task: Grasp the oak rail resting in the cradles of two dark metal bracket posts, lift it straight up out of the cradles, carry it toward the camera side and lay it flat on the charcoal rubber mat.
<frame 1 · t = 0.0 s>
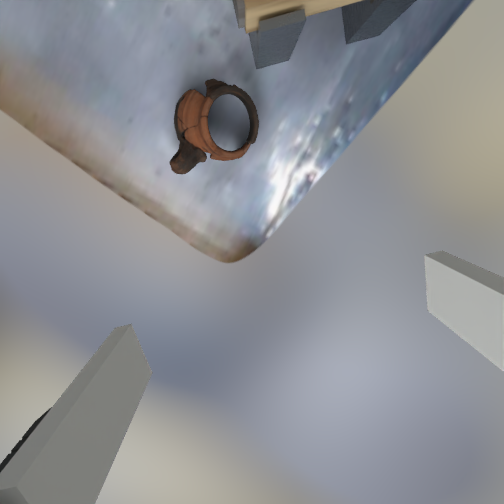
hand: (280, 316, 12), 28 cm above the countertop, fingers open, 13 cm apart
standard b: (359, 6, 32), on the countertop
standard a: (266, 33, 33), on the countertop
pottery mug: (209, 134, 36), on the countertop
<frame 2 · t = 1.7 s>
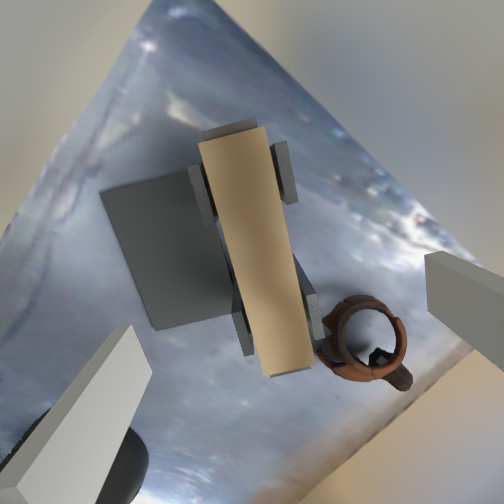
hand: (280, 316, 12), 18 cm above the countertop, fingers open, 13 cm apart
standard b: (243, 178, 28), on the countertop
oak rail: (260, 249, 23), point 7 cm above the countertop, touching standard a, standard b
mat: (176, 254, 30), on the countertop
standard a: (267, 277, 31), on the countertop
pottery mug: (352, 331, 34), on the countertop
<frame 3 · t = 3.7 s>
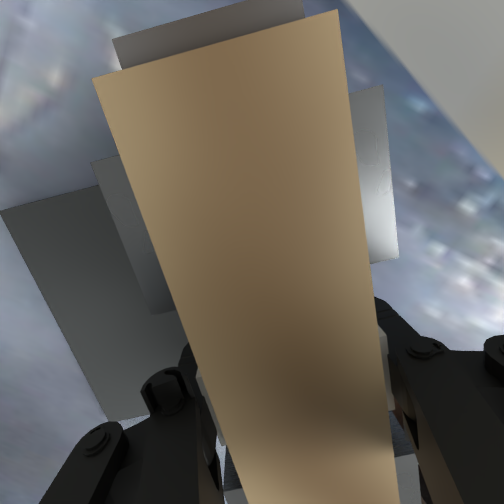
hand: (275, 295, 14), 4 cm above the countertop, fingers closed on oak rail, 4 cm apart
standard b: (248, 184, 16), on the countertop
oak rail: (284, 333, 11), point 7 cm above the countertop, touching gripper, standard a, standard b
mat: (138, 308, 18), on the countertop
standard a: (287, 341, 20), on the countertop
pottery mug: (407, 420, 22), on the countertop
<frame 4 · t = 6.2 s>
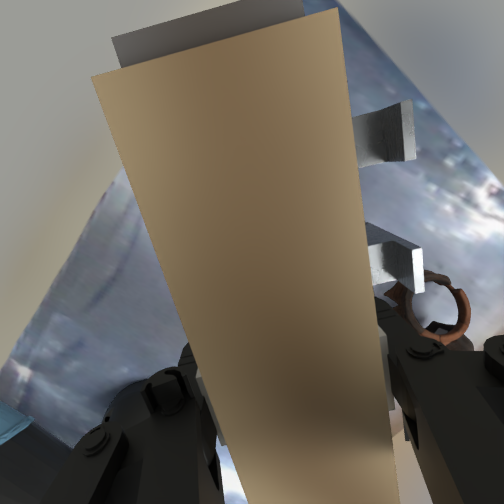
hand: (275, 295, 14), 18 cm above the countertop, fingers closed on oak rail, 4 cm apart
standard b: (328, 148, 30), on the countertop
oak rail: (284, 333, 11), point 22 cm above the countertop, touching gripper
standard a: (343, 245, 33), on the countertop
pottery mug: (408, 306, 36), on the countertop
when the fingers open (1 cm above the countertop, at t = 9.1 s): oak rail drops 3 cm, point 2 cm above the countertop.
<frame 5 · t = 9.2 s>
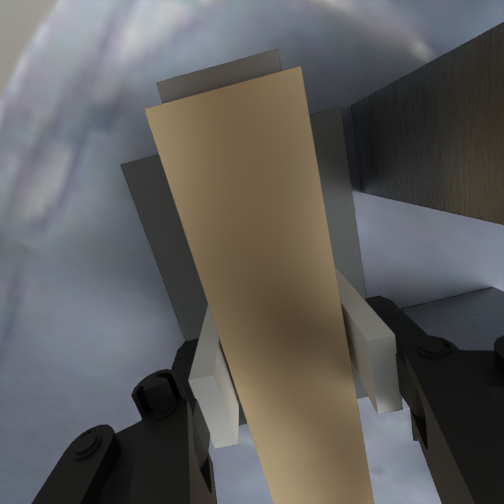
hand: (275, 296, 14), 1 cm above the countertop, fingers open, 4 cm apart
standard b: (426, 133, 13), on the countertop
oak rail: (275, 302, 14), point 2 cm above the countertop
mat: (268, 291, 15), on the countertop
standard a: (437, 330, 16), on the countertop
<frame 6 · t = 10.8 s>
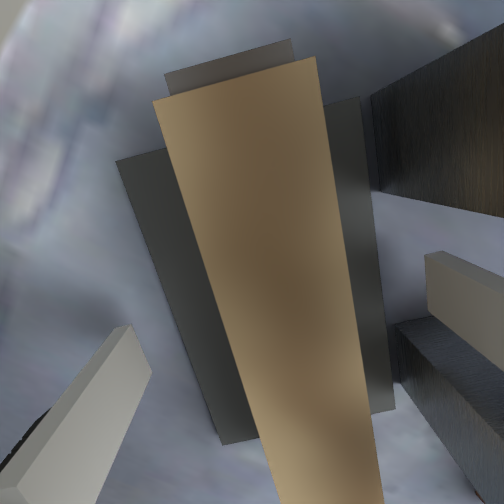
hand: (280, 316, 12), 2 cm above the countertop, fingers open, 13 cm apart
standard b: (453, 126, 12), on the countertop
oak rail: (282, 302, 13), point 1 cm above the countertop, touching mat
mat: (276, 299, 14), on the countertop
standard a: (458, 342, 15), on the countertop
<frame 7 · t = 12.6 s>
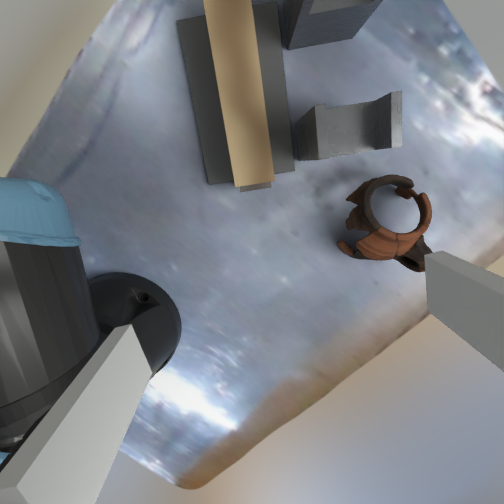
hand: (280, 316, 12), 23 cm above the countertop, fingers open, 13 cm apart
standard b: (318, 21, 28), on the countertop
oak rail: (242, 99, 30), point 1 cm above the countertop, touching mat
mat: (240, 102, 30), on the countertop
standard a: (326, 137, 31), on the countertop
pottery mug: (374, 224, 35), on the countertop
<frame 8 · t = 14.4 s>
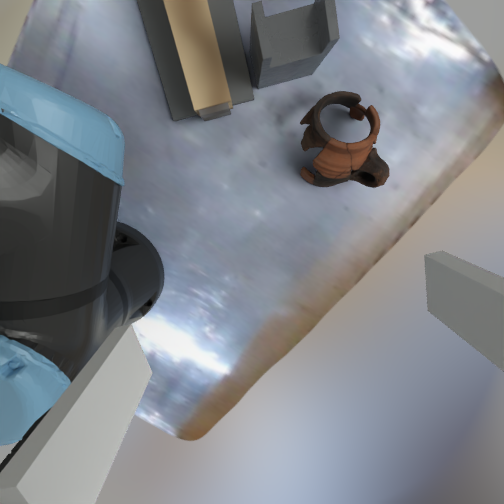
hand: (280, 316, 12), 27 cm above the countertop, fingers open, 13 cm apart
oak rail: (195, 30, 31), point 1 cm above the countertop, touching mat
mat: (194, 34, 32), on the countertop
standard a: (281, 62, 33), on the countertop
pottery mug: (334, 151, 36), on the countertop
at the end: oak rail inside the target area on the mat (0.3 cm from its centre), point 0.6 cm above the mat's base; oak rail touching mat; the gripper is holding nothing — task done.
